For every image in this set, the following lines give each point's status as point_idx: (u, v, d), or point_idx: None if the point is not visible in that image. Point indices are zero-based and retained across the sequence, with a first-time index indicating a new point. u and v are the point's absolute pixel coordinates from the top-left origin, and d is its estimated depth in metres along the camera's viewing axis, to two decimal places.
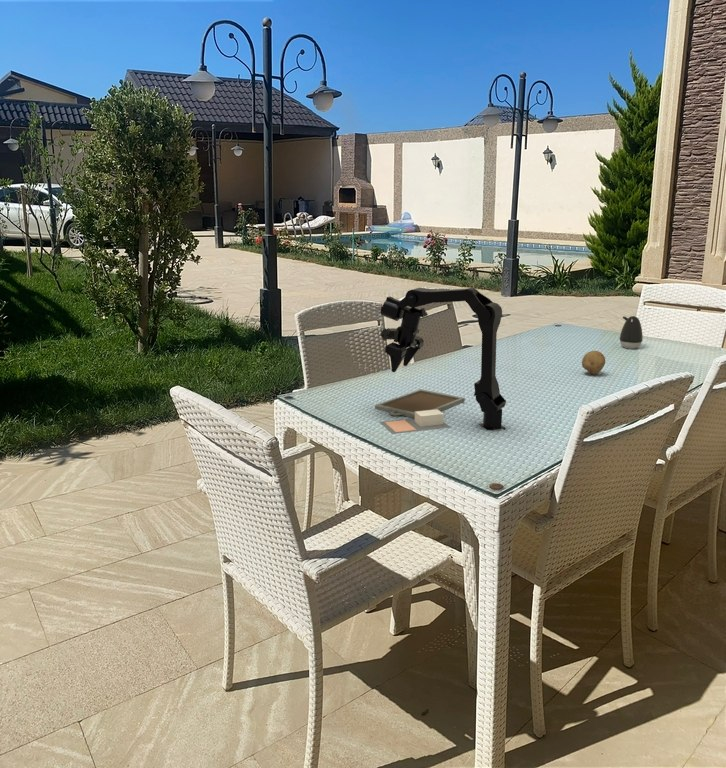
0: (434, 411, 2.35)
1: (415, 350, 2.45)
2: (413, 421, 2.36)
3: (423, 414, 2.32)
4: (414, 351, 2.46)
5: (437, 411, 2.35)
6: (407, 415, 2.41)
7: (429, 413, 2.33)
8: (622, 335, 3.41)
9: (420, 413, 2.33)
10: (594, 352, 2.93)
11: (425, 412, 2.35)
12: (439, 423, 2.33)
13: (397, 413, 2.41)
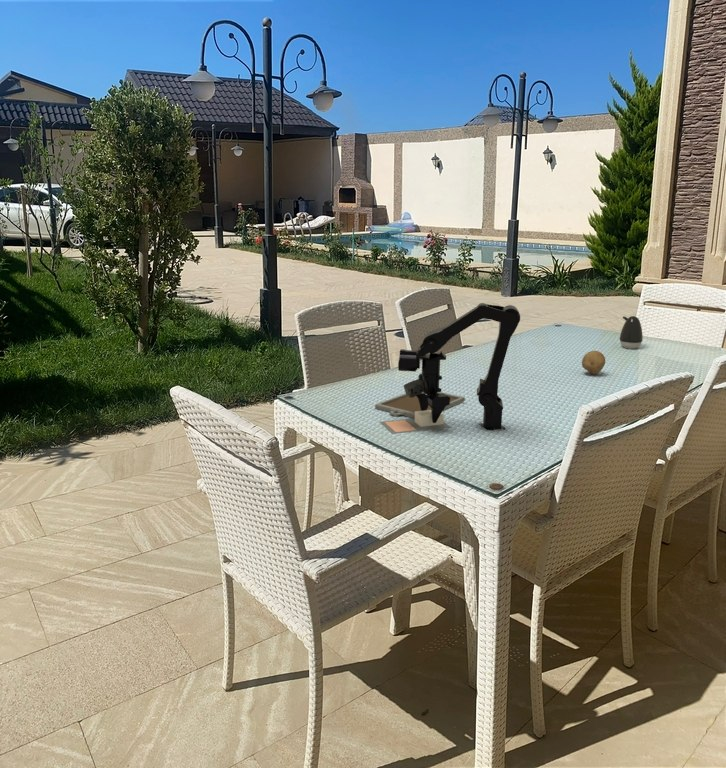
0: None
1: None
2: (413, 421, 2.36)
3: (423, 414, 2.32)
4: (429, 396, 2.38)
5: None
6: (407, 415, 2.40)
7: (429, 413, 2.33)
8: (622, 335, 3.41)
9: (420, 413, 2.33)
10: (594, 352, 2.93)
11: (425, 412, 2.35)
12: (439, 423, 2.33)
13: (397, 413, 2.41)
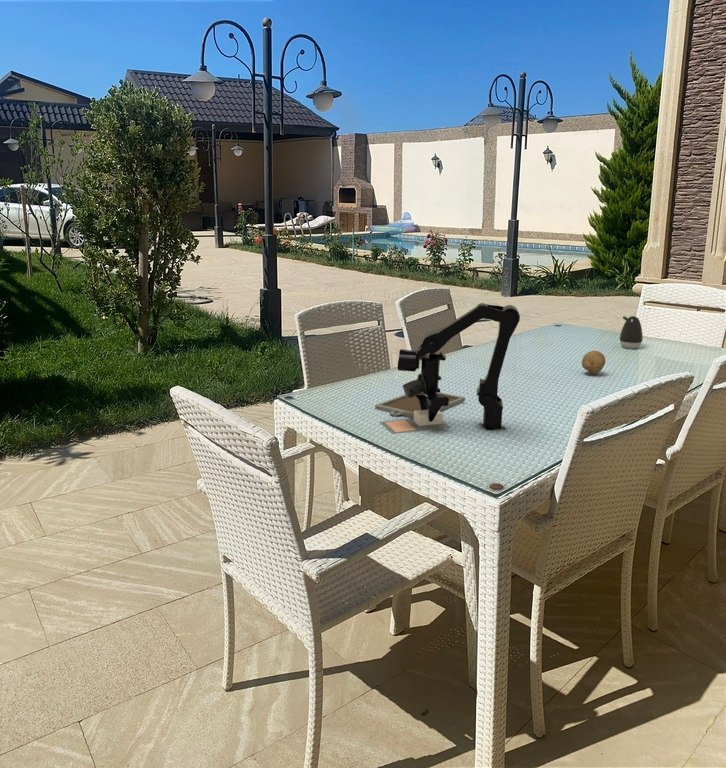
0: None
1: None
2: (413, 421, 2.36)
3: (422, 413, 2.33)
4: None
5: None
6: (407, 415, 2.40)
7: None
8: (622, 335, 3.41)
9: (419, 413, 2.33)
10: (594, 352, 2.93)
11: (424, 411, 2.35)
12: (438, 422, 2.34)
13: (397, 413, 2.41)
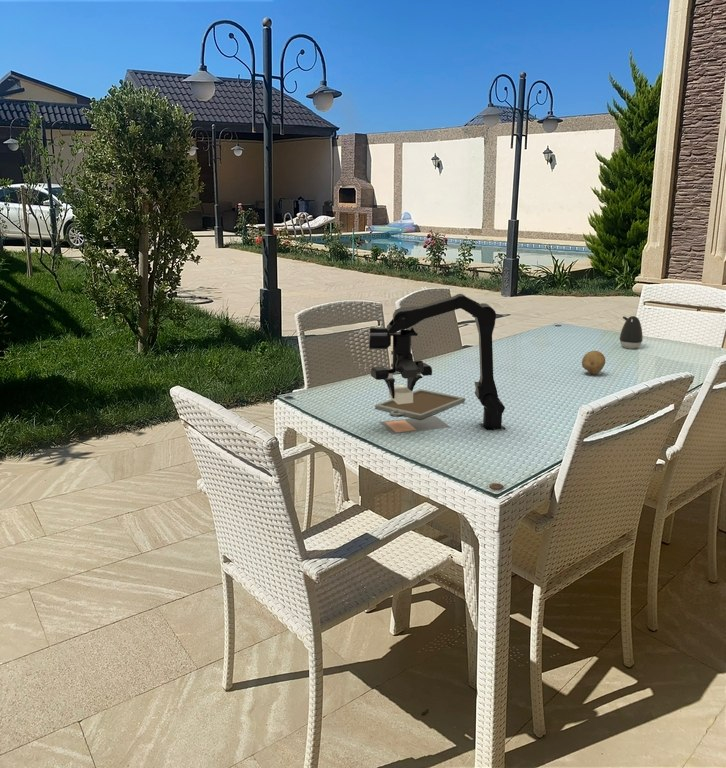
0: (396, 387, 2.30)
1: None
2: (413, 421, 2.36)
3: (407, 391, 2.27)
4: None
5: (396, 386, 2.31)
6: (407, 415, 2.40)
7: (402, 389, 2.29)
8: (622, 335, 3.41)
9: (405, 392, 2.26)
10: (594, 352, 2.93)
11: (398, 390, 2.27)
12: None
13: (397, 413, 2.41)
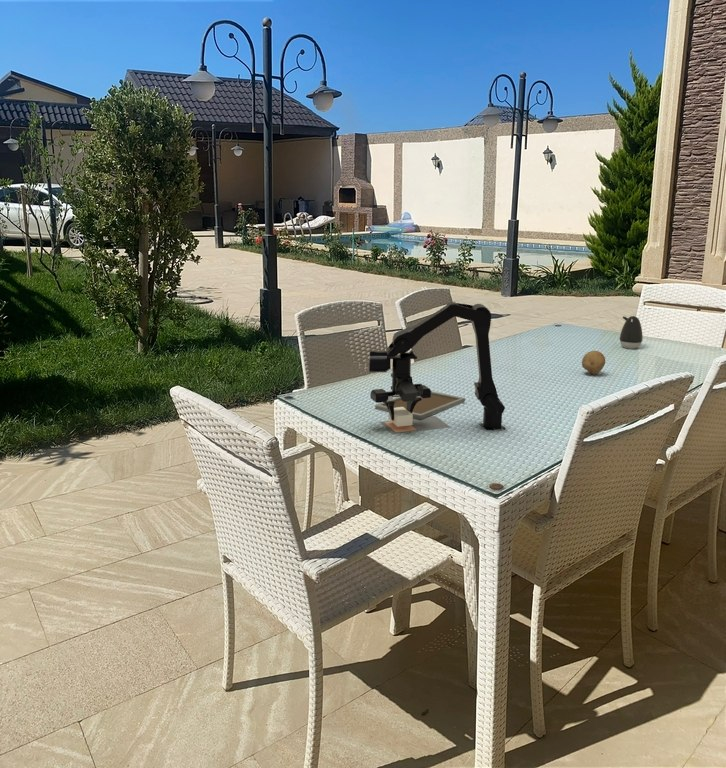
0: (396, 409, 2.32)
1: None
2: (413, 421, 2.36)
3: (406, 413, 2.29)
4: None
5: (395, 408, 2.33)
6: None
7: (401, 411, 2.31)
8: (622, 335, 3.41)
9: (404, 414, 2.28)
10: (594, 352, 2.93)
11: (398, 412, 2.29)
12: None
13: None
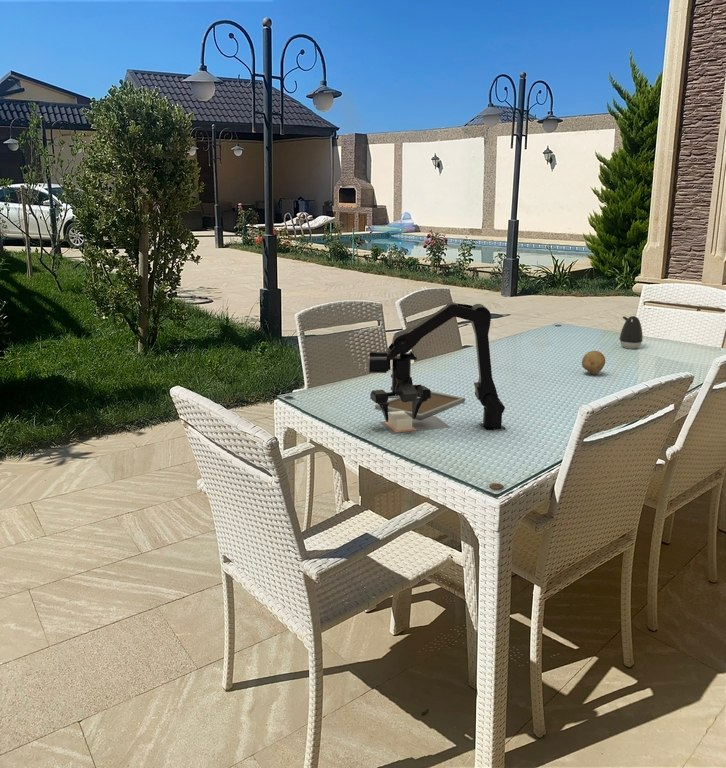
0: (395, 413, 2.33)
1: None
2: (413, 421, 2.36)
3: (406, 417, 2.29)
4: None
5: (395, 412, 2.34)
6: None
7: (401, 415, 2.31)
8: (622, 335, 3.41)
9: (404, 418, 2.28)
10: (594, 352, 2.93)
11: (398, 416, 2.30)
12: None
13: None
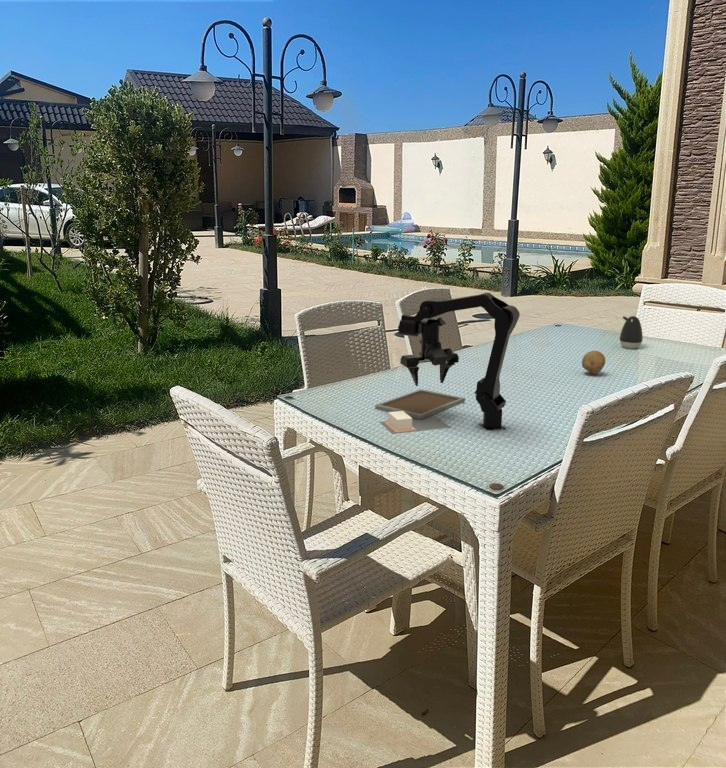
0: (395, 413, 2.33)
1: None
2: (413, 421, 2.36)
3: (406, 417, 2.29)
4: None
5: (395, 412, 2.34)
6: None
7: (401, 415, 2.31)
8: (622, 335, 3.41)
9: (404, 418, 2.28)
10: (594, 352, 2.93)
11: (398, 416, 2.30)
12: None
13: None
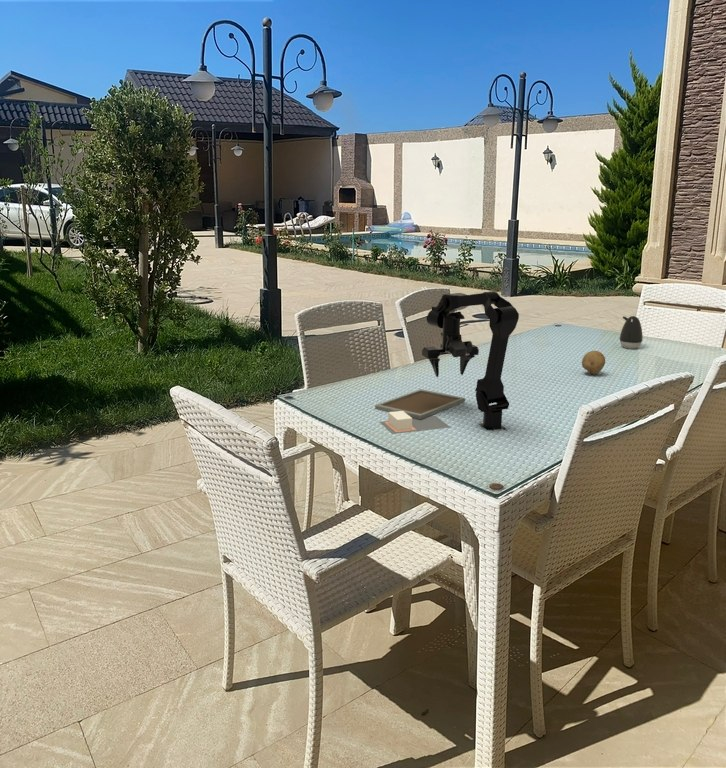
0: (395, 413, 2.33)
1: None
2: (413, 421, 2.36)
3: (406, 417, 2.29)
4: None
5: (395, 412, 2.34)
6: None
7: (401, 415, 2.31)
8: (622, 335, 3.41)
9: (404, 418, 2.28)
10: (594, 352, 2.93)
11: (398, 416, 2.30)
12: None
13: None
